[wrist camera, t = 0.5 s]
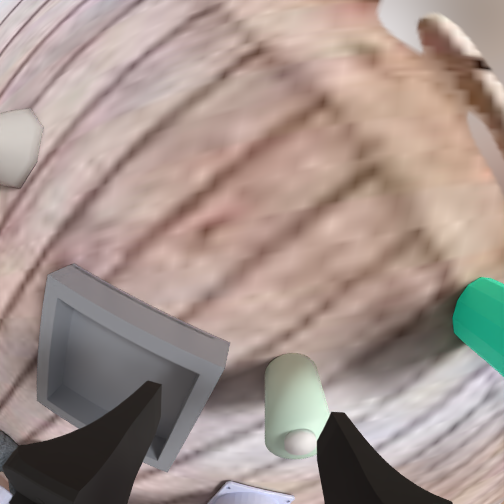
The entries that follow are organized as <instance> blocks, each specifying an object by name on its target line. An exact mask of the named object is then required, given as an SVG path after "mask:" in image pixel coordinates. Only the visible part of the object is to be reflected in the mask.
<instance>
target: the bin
mask: <svg viewBox="0 0 504 504" xmlns="http://www.w3.org/2000/svg"><path fill="white" fill-rule="evenodd" d="M229 346H230V342H228V341H225V340H223V339H221V338H218V337H216V336H214V335H212V334H209V333H207V332H205V331H203V330H201V329H198V328H196V327H194V326H192V325H190V324H188V323H186V322H183V321H181V320H179V319H177V318H175V317H173V316H171V315H169V314H167V313H165V312H163V311H161V310H159V309H157V308H155V307H153V306H151V305H149V304H147V303H145V302H143V301H141V300H139V299H137V298H135V297H133V296H131V295H130V294H128V293H126V292H124V291H122V290H120V289H118V288H117V287H115V286H113V285H111V284H109V283H107V282H106V281H104V280H102V279H100V278H99V277H97V276H95V275H93V274H92V273H90V272H88V271H86V270H85V269H83V268H81V267H79V266H78V265H76V264H71V265H69V266H67V267H64V268H62V269H60V270H57V271H55V272H53V273H50V274H48V277H47V282H46V288H45V294H44V301H43V308H42V316H41V325H40V335H39V347H38V364H37V401H38V402H40V403H41V404H42V405H44V406H45V407H47V408H48V409H50V410H51V411H52V412H54V413H55V414H57V415H58V416H60V417H61V418H63V419H64V420H66V421H68V422H69V423H71V424H72V425H74V426H75V427H77V428H79V429H80V428H82V427H84V426H86V425H88V424H90V423H92V422H94V421H95V420H97V419H99V418H100V417H102V416H103V415H105V414H106V413H108V412H109V411H111V410H112V409H114V408H115V407H116V406H118V405H119V404H120V403H122V402H123V401H124V400H125V399H127V398H128V397H129V396H130V395H131V394H133V393H134V392H135V391H136V390H137V389H138V388H139V387H140V386H142V385H143V384H144V383H145V382H146V381H152V382H155V383H159V384H162V394H161V418H160V421H159V424H158V428H157V431H156V434H155V436H154V439H153V441H152V443H151V445H150V447H149V449H148V452H147V454H146V456H145V458H144V460H143V462H144V463H146V464H148V465H150V466H153V467H155V468H157V469H160V470H162V471H165V472H168V471H169V469H170V467H171V465H172V464H173V462H174V460H175V458H176V457H177V455H178V453H179V451H180V449H181V448H182V446H183V444H184V442H185V440H186V439H187V437H188V435H189V433H190V431H191V430H192V428H193V426H194V424H195V422H196V421H197V419H198V417H199V415H200V413H201V411H202V410H203V408H204V406H205V404H206V402H207V400H208V399H209V397H210V395H211V393H212V391H213V389H214V387H215V386H216V384H217V382H218V380H219V378H220V376H221V374H222V372H223V371H224V369H225V365H226V360H227V355H228V351H229Z"/></svg>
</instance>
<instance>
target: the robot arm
mask: <svg viewBox="0 0 504 504" xmlns="http://www.w3.org/2000/svg"><path fill="white" fill-rule="evenodd" d="M161 394H162V384H159V383H155V382H152V381H146V382H145V383H144V384H143V385H142V386H140V387H139V388H138V389H137V390H136V391H135V392H134V393H133V394H131V395H130V396H129V397H128V398H127V399H125V400H124V401H123V402H122V403H120V404H119V405H118V406H116V407H115V408H114V409H112V410H111V411H109V412H108V413H106V414H105V415H103V416H102V417H100V418H99V419H97V420H95V421H94V422H92V423H90V424H88V425H86V426H84V427H82V428H80V429H78V430H76V431H73V432H71V433H69V434H66V435H63V436H60V437H57V438H54V439H51V440H47V441H43V442H39V443H33V444H27V445H20V446H18V447H17V448H16V449H15V450H14V451H13V453H12V454H11V455H10V457H9V458H8V459H7V461H6V462H5V463H4V465H3V466H2V468H3V472H4V474H5V475H6V477H7V478H8V480H9V481H10V483H11V484H12V485H13V487H14V488H15V489H16V493H15V494H14V496H13V495H12V494H11V493H10V492H9V491H8V490H6V489H5V488H4V487H2V486H1V485H0V504H127V503H128V499H129V496H130V493H131V490H132V486H133V483H134V480H135V478H136V475H137V473H138V471H139V468H140V466H141V464H142V462H143V460H144V458H145V456H146V454H147V452H148V449H149V447H150V445H151V443H152V441H153V439H154V436H155V434H156V431H157V428H158V424H159V421H160V418H161ZM317 462H318V468H319V474H320V479H321V484H322V490H323V495H324V501H325V504H453V503H452V502H451V501H449V500H446V499H444V498H441V497H439V496H436V495H434V494H432V493H430V492H428V491H426V490H424V489H422V488H421V487H419V486H417V485H416V484H414V483H413V482H411V481H410V480H408V479H407V478H405V477H404V476H403V475H401V474H400V473H399V472H397V471H396V470H395V469H394V468H393V467H392V466H390V465H389V464H388V463H387V462H386V461H385V460H384V459H383V458H382V457H381V456H380V455H379V454H378V453H377V452H376V451H375V450H374V449H373V447H372V446H371V445H370V444H369V443H368V442H367V440H366V439H365V438H364V437H363V436H362V434H361V433H360V432H359V431H358V429H357V428H356V427H355V425H354V424H353V423H352V422H351V420H350V419H349V418H348V416H347V415H346V414H345V413H342V412H331V414H330V416H329V418H328V420H327V422H326V424H325V426H324V428H323V430H322V432H321V434H320V436H319V438H318V440H317ZM294 499H295V498H294V496H293V495H288V494H283V493H277V492H273V491H268V490H263V489H259V488H255V487H251V486H247V485H243V484H239V483H236V482H232V481H228V482H226V483H225V484H224V485H223V486H222V488H221V489H220V490H219V491H218V492H217V493H216V494H215V495H214V496H213V498H212V499H211V500H210V501H209V502H208V503H207V504H290V503H291V502H292V501H293V500H294Z"/></svg>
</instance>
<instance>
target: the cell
mask: <svg viewBox="0 0 504 504" xmlns="http://www.w3.org/2000/svg"><path fill="white" fill-rule="evenodd" d="M329 416H330V414H329V410H328V407H327V403H326V399H325V396H324V392H323V389H322V385H321V382H320V378H319V375H318V372H317V368H316V365H315V364H314V362H313V361H312V360H311V359H310V358H308V357H307V356H305V355H302V354H298V353H289V354H284V355H281V356H279V357H277V358H275V359H274V360H273V361H271V362H270V364H269V365H268V366H267V368H266V371H265V444H266V447H267V448H268V450H269V451H270V452H272V453H273V454H275V455H276V456H279V457H282V458H286V459H304V458H308V457H311V456H314V455H316V454H317V440H318V438H319V436H320V434H321V432H322V430H323V428H324V426H325V424H326V422H327V420H328V418H329Z"/></svg>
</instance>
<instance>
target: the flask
mask: <svg viewBox="0 0 504 504" xmlns="http://www.w3.org/2000/svg"><path fill="white" fill-rule="evenodd" d="M43 128H44V127H43V126H42V124H41V123H40V121H39V120H38V118H37V117H36V115H35V114H34V112H33V111H32V109H20V110H11V111H7V112H3V113H0V185H3V186H10V187H17V188H21V186H22V185H23V183H24V181H25V180H26V178H27V177H28V175H29V173H30V172H31V170H32V169H33V167H34V166H35V164H36V163H37V159H38V153H39V148H40V142H41V137H42V133H43Z"/></svg>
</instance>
